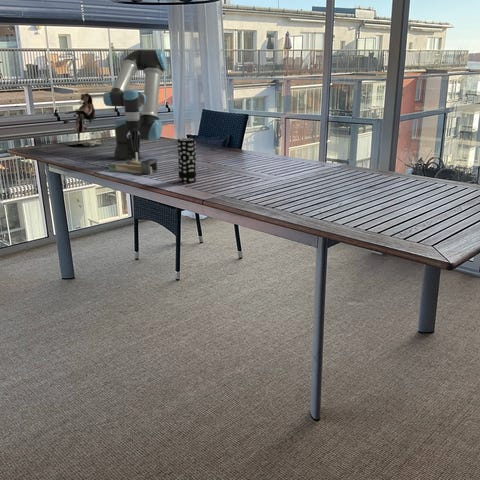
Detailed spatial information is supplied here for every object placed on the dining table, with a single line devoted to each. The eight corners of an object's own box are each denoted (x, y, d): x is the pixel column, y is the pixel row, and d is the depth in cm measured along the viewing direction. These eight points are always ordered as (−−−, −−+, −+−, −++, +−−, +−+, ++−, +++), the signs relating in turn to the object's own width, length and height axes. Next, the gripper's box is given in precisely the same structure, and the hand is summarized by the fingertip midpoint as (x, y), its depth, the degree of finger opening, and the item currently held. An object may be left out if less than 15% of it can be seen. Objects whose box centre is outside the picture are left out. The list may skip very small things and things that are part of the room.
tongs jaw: (130, 165, 283) (130, 157, 282) (149, 171, 269) (148, 163, 268) (123, 166, 281) (123, 158, 279) (142, 172, 267) (141, 164, 265)
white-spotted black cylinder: (193, 183, 243) (192, 141, 237) (176, 182, 245) (175, 140, 238) (198, 180, 251) (197, 138, 244) (182, 179, 252) (180, 137, 246)
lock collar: (150, 169, 272) (150, 158, 270) (157, 170, 270) (156, 159, 268) (141, 173, 263) (141, 161, 261) (148, 173, 262) (148, 162, 260)
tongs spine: (113, 169, 275) (113, 162, 273) (154, 172, 267) (153, 165, 266) (109, 170, 270) (108, 164, 269) (149, 174, 263) (149, 167, 262)
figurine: (73, 147, 364) (62, 96, 355) (107, 143, 366) (97, 92, 356) (65, 150, 340) (53, 96, 331) (101, 145, 341) (90, 91, 332)
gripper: (132, 118, 280) (135, 161, 288) (119, 121, 269) (123, 165, 277) (144, 118, 278) (147, 162, 286) (132, 121, 267) (135, 166, 275)
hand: (135, 163), depth 281 cm, fingers closed
